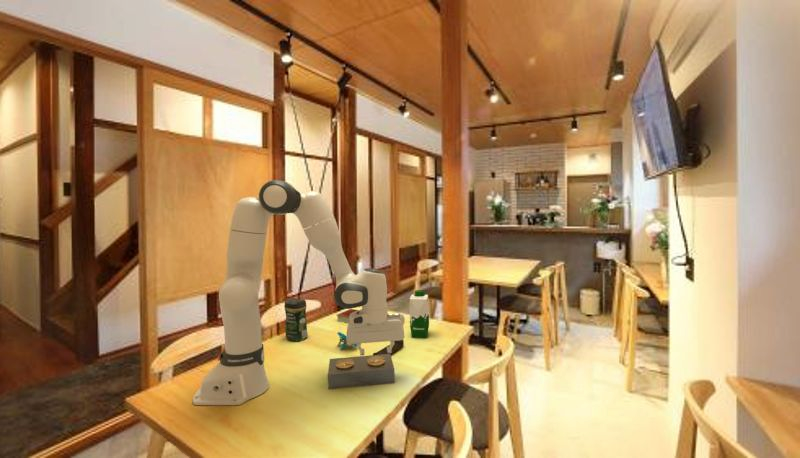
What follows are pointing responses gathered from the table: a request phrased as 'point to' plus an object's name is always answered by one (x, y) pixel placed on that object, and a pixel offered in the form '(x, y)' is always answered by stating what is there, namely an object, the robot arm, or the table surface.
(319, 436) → the table surface
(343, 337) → the teal cog wheel
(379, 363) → the tan dome cap
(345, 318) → the hardcover book
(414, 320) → the milk carton
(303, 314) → the coffee jar
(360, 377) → the block
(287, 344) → the table surface
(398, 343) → the hand tool
